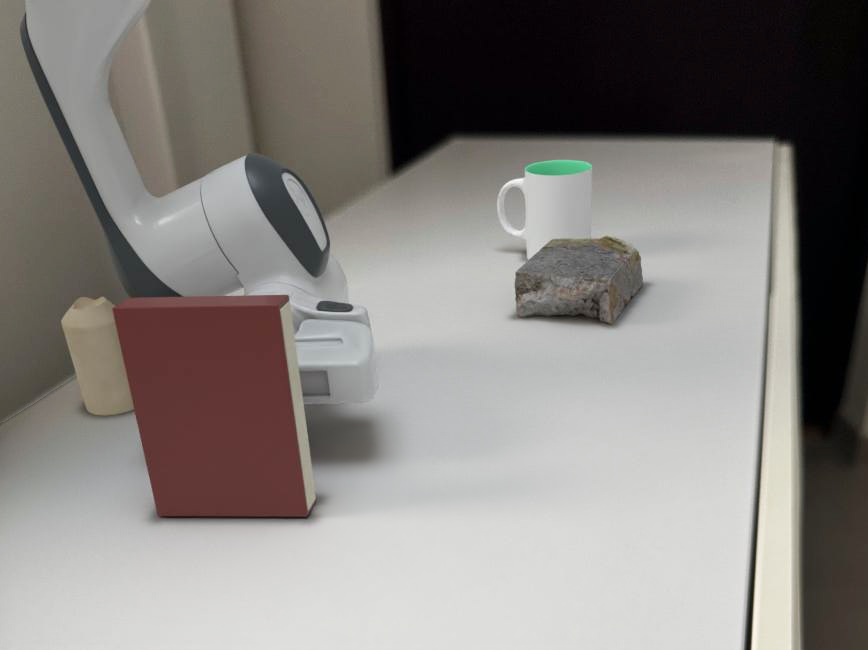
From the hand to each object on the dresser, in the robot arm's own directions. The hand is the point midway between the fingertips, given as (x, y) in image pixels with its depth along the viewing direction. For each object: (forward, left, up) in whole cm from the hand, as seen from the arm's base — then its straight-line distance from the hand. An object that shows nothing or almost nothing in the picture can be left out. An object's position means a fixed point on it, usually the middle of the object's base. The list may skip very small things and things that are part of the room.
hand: (230, 410), depth 80 cm
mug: (+21, +63, -8) cm, 67 cm away
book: (0, -2, -7) cm, 8 cm away
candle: (-18, +18, -8) cm, 27 cm away
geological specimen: (+26, +45, -8) cm, 53 cm away
